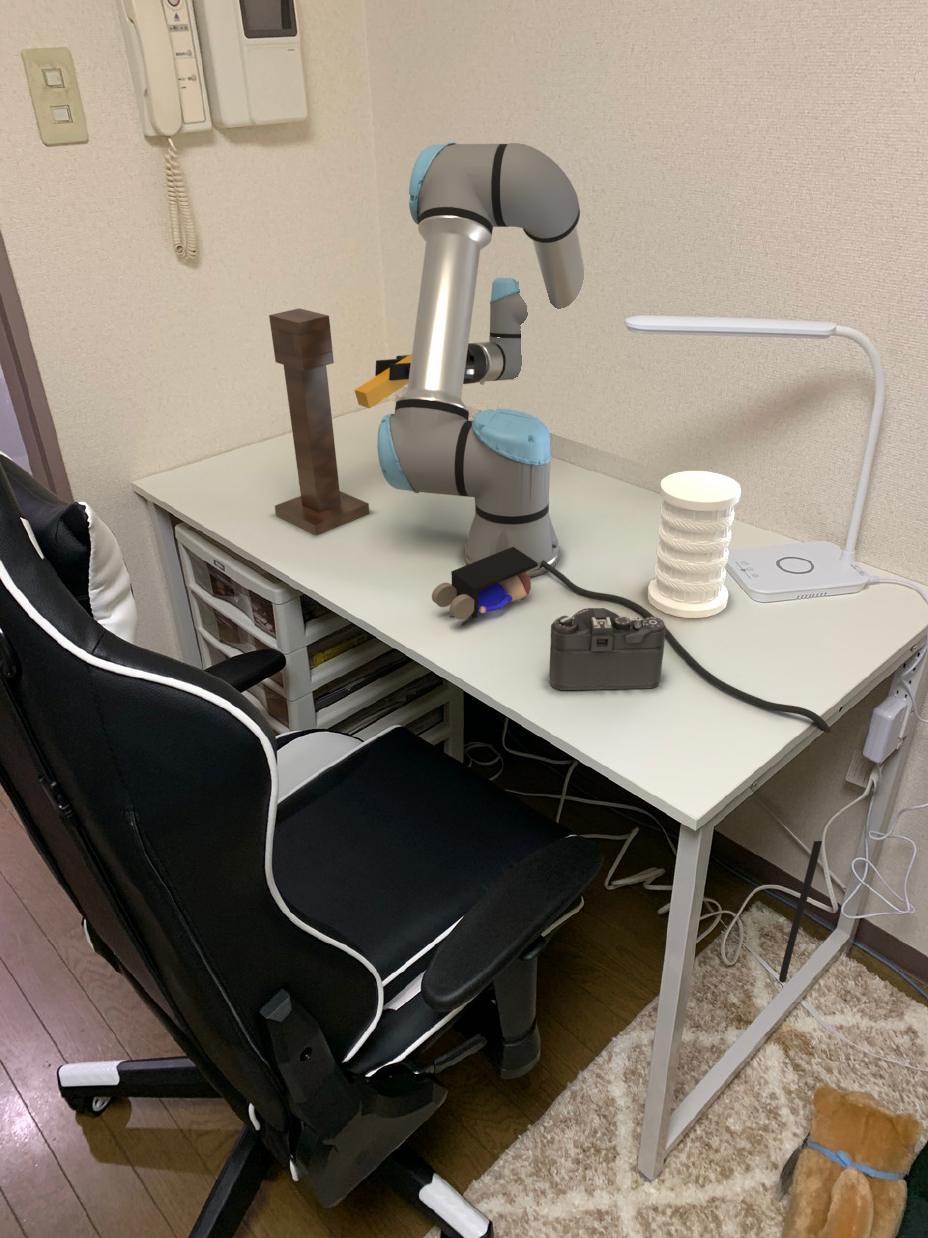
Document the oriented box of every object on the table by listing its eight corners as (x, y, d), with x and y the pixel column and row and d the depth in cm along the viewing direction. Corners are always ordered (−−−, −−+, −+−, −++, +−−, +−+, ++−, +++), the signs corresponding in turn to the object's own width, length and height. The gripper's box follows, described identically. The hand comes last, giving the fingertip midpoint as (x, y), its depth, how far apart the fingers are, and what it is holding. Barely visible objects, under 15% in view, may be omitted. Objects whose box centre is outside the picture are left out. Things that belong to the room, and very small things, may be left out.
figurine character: (460, 644, 127) (542, 600, 134) (454, 600, 123) (539, 557, 129) (434, 624, 132) (514, 583, 138) (427, 581, 128) (510, 541, 134)
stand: (316, 535, 155) (289, 328, 136) (275, 515, 162) (246, 316, 144) (369, 513, 162) (351, 313, 144) (328, 495, 169) (306, 302, 151)
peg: (369, 408, 158) (365, 393, 156) (358, 404, 160) (354, 389, 158) (439, 362, 167) (436, 347, 165) (428, 359, 168) (424, 344, 166)
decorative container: (736, 617, 129) (753, 502, 119) (655, 619, 129) (666, 504, 120) (716, 578, 139) (731, 468, 129) (641, 579, 139) (651, 470, 129)
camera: (646, 644, 124) (652, 581, 118) (663, 691, 114) (671, 625, 109) (542, 648, 123) (544, 585, 118) (551, 696, 114) (554, 629, 109)
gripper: (502, 390, 172) (413, 401, 156) (443, 374, 182) (353, 382, 166) (507, 350, 169) (416, 356, 153) (446, 336, 179) (355, 340, 163)
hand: (384, 370), depth 159 cm, fingers closed on peg, 3 cm apart
